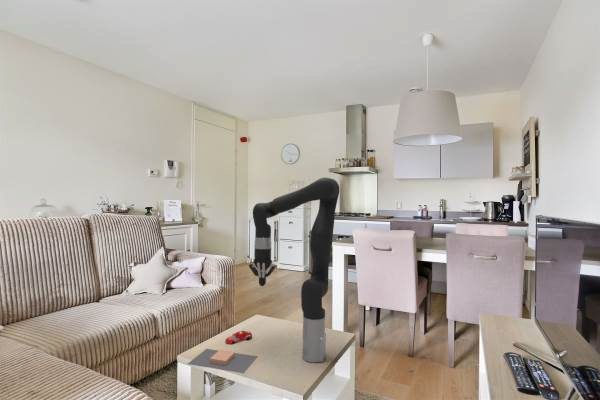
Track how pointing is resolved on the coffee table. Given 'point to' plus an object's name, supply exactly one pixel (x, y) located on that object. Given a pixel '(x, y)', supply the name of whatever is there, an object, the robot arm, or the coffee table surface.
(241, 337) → the race car
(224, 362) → the tile
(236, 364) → the mat
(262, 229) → the robot arm
